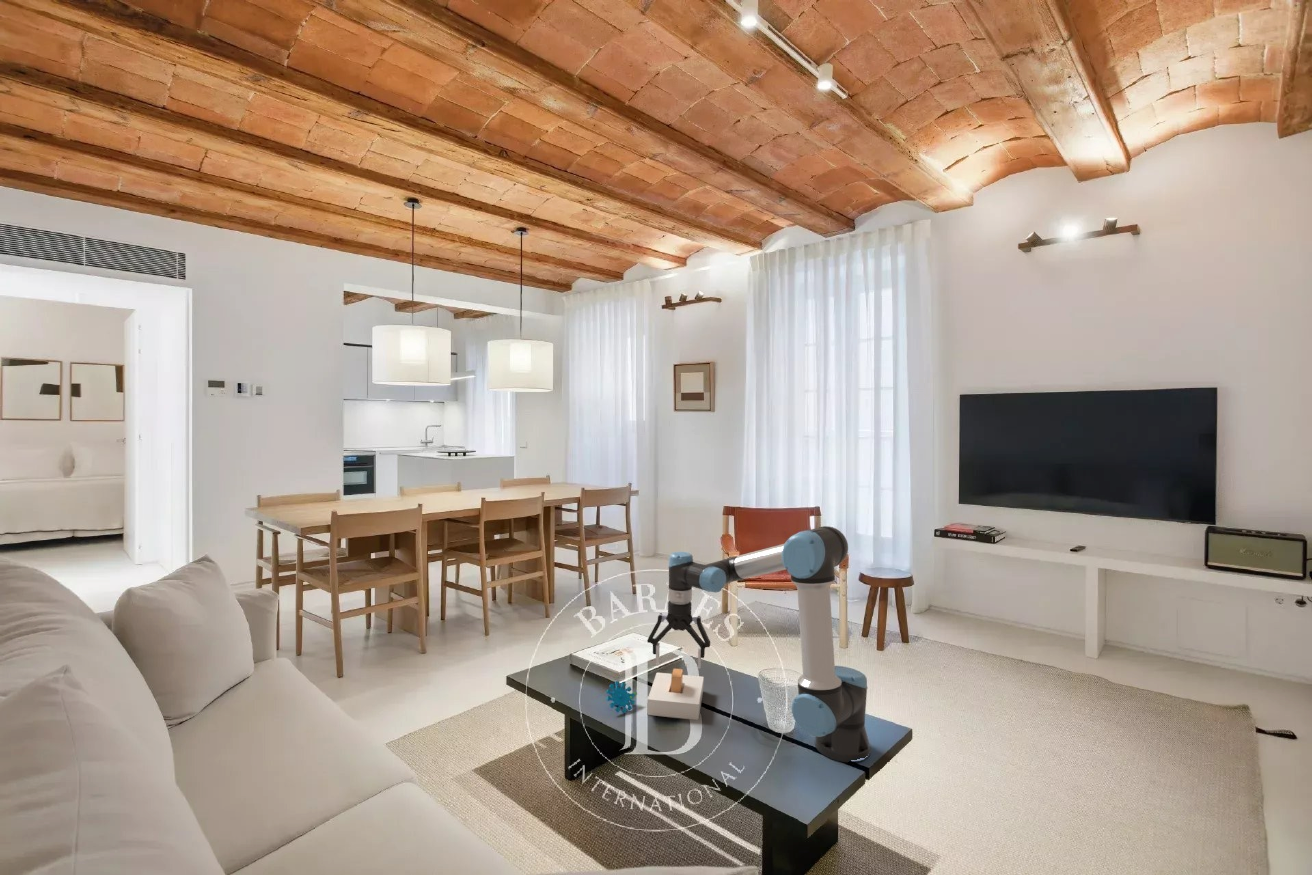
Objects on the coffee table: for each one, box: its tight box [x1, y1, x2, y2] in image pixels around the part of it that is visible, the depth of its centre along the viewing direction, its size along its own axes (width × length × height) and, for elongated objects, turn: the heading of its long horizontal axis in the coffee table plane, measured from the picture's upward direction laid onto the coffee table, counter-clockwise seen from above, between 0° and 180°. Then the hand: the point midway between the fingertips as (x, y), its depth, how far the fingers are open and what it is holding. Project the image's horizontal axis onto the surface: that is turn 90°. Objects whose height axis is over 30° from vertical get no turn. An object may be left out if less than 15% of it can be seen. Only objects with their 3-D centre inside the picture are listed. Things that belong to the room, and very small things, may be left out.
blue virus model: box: [605, 680, 638, 714], centre depth 212 cm, size 11×6×10 cm
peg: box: [671, 668, 684, 693], centre depth 216 cm, size 3×6×10 cm, turn 172°
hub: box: [646, 672, 705, 721], centre depth 216 cm, size 20×16×5 cm
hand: (678, 665), depth 215 cm, fingers open, 13 cm apart
